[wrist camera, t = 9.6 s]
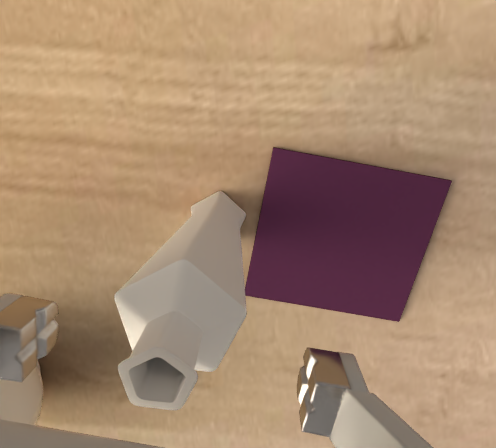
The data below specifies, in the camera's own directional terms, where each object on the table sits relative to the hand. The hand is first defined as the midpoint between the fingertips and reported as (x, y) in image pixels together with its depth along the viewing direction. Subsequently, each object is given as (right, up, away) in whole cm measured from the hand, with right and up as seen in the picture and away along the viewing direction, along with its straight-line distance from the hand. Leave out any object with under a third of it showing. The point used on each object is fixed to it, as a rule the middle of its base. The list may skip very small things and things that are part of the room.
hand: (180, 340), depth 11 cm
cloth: (+9, +3, +13) cm, 16 cm away
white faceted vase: (0, +4, +13) cm, 13 cm away
